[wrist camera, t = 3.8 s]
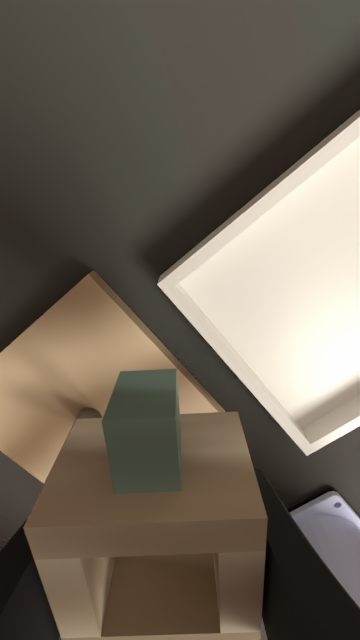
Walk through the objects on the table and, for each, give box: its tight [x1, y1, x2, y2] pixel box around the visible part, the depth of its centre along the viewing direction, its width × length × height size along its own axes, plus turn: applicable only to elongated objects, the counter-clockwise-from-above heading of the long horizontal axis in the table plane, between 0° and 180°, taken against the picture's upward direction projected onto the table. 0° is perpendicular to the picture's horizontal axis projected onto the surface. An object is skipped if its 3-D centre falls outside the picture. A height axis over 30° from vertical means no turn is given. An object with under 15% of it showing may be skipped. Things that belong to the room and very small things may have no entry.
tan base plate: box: [0, 270, 226, 485], centre depth 16 cm, size 12×12×6 cm
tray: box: [157, 110, 360, 456], centre depth 15 cm, size 13×13×2 cm
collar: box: [23, 369, 268, 640], centre depth 8 cm, size 7×5×3 cm
